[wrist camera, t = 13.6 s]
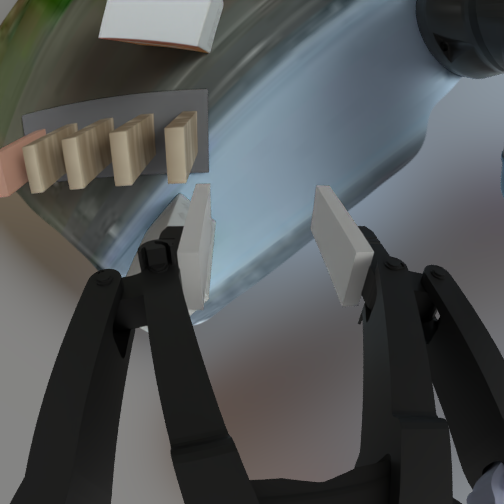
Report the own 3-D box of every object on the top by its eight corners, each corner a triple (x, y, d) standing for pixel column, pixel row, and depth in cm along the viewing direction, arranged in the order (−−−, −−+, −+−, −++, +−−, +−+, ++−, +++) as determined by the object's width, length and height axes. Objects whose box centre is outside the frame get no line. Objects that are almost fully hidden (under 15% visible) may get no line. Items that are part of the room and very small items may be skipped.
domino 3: (113, 117, 32) (75, 137, 23) (117, 157, 34) (83, 188, 26) (101, 119, 31) (61, 139, 23) (105, 158, 34) (69, 189, 26)
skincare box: (179, 258, 44) (161, 344, 31) (142, 231, 41) (107, 311, 28) (219, 219, 41) (213, 301, 28) (179, 187, 38) (152, 260, 25)
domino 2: (77, 122, 31) (33, 145, 23) (82, 160, 34) (43, 192, 26) (66, 124, 31) (22, 147, 23) (71, 161, 34) (31, 193, 26)
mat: (208, 88, 31) (207, 89, 31) (208, 170, 37) (208, 172, 36) (24, 114, 30) (21, 115, 29) (35, 182, 35) (33, 184, 35)
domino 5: (196, 110, 32) (183, 127, 24) (197, 152, 35) (185, 183, 27) (182, 111, 32) (164, 128, 24) (184, 152, 35) (168, 183, 26)
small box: (141, 46, 28) (95, 39, 17) (154, -4, 24) (115, -34, 14) (211, 55, 29) (198, 47, 18) (225, 5, 26) (220, -28, 15)
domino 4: (153, 113, 32) (126, 131, 24) (156, 154, 35) (131, 185, 26) (140, 114, 32) (109, 133, 23) (143, 155, 34) (115, 186, 26)
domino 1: (45, 128, 31) (-1, 152, 23) (50, 164, 34) (9, 196, 25) (36, 130, 31) (-11, 155, 22) (41, 166, 34) (-1, 197, 25)
